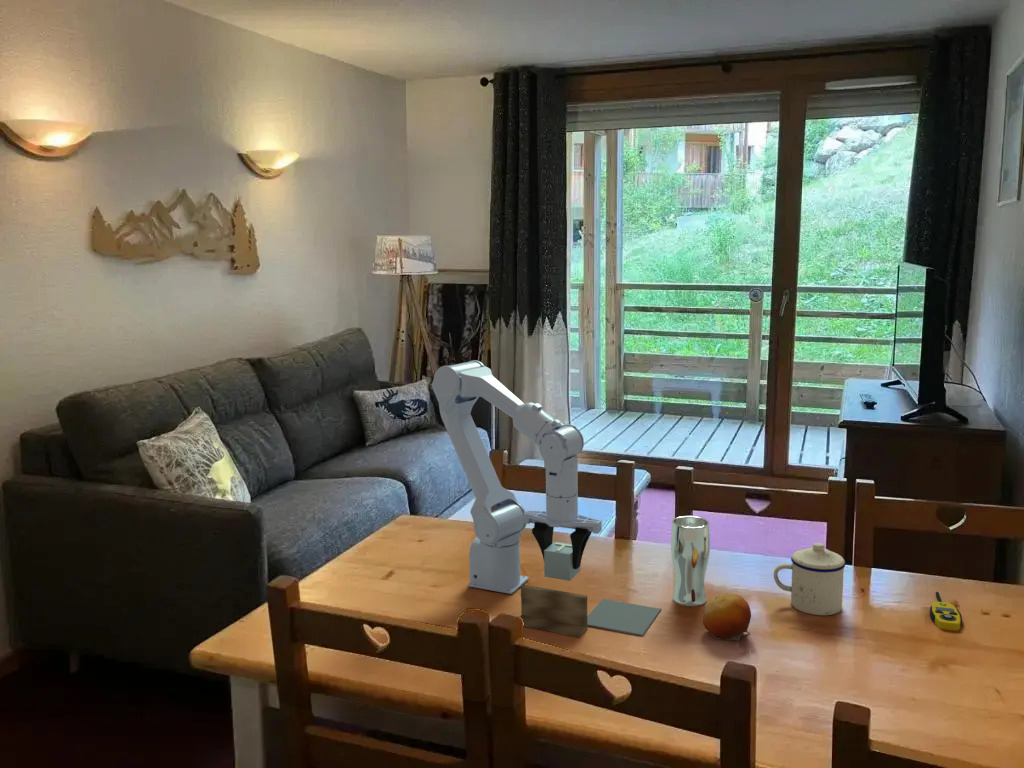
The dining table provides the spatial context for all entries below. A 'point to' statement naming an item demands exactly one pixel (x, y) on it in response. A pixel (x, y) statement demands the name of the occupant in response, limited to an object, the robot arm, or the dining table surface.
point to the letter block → (559, 561)
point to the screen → (554, 610)
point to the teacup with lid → (815, 580)
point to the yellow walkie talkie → (945, 615)
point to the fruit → (727, 616)
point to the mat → (622, 617)
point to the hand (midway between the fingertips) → (562, 564)
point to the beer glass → (690, 559)
